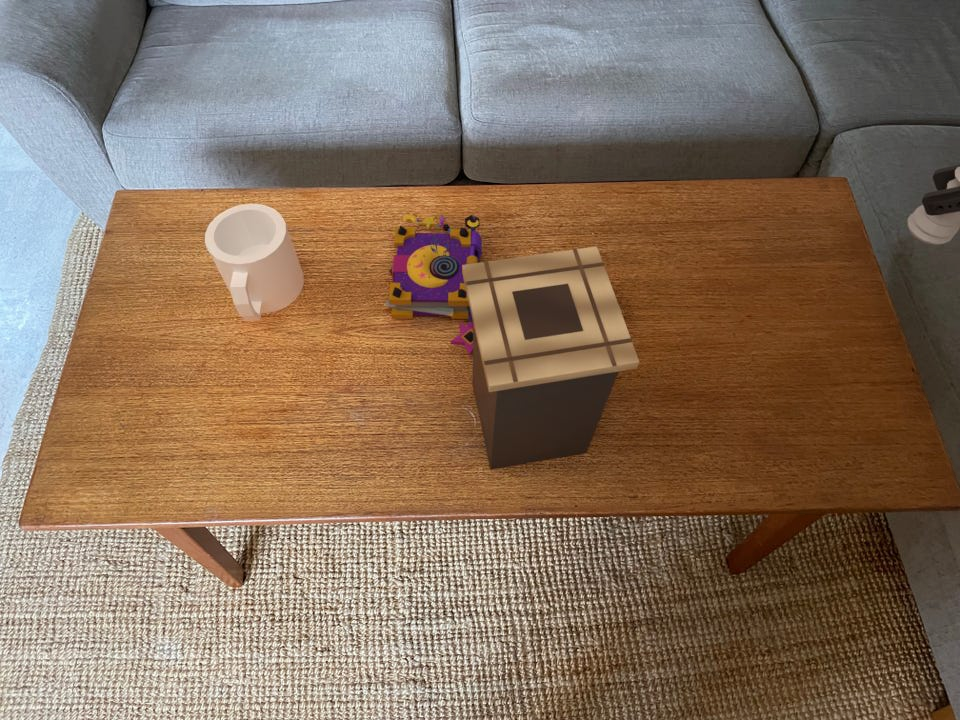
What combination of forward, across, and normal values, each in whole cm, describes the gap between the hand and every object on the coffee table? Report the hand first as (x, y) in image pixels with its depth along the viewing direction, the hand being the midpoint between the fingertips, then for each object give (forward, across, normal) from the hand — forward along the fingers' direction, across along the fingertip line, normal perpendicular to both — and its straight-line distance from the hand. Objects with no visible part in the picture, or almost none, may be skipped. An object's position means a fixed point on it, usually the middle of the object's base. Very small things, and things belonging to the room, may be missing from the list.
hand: (931, 193), depth 63 cm
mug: (+67, +34, -27) cm, 80 cm away
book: (+53, +20, -13) cm, 58 cm away
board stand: (+38, +30, +2) cm, 48 cm away
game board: (+22, +30, -13) cm, 39 cm away
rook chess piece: (+2, 0, +4) cm, 5 cm away
